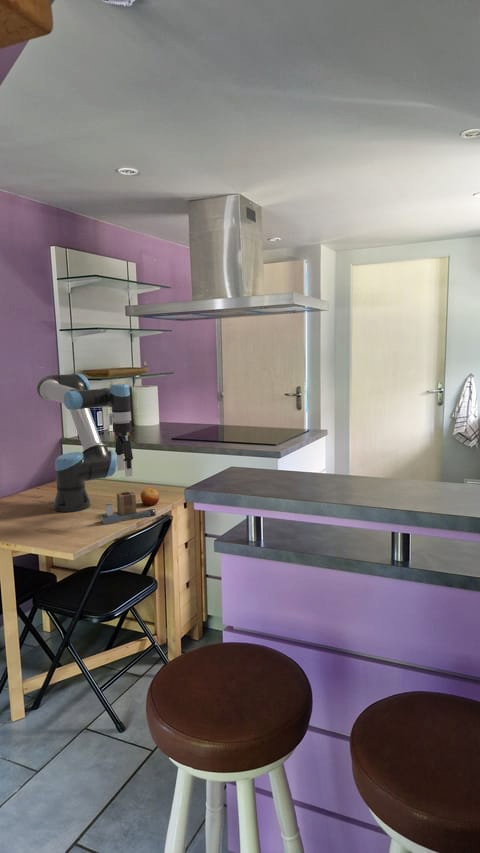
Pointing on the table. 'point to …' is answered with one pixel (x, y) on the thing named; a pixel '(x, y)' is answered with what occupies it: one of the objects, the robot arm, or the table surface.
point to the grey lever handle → (124, 515)
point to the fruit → (149, 496)
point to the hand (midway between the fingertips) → (124, 473)
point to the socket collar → (126, 502)
